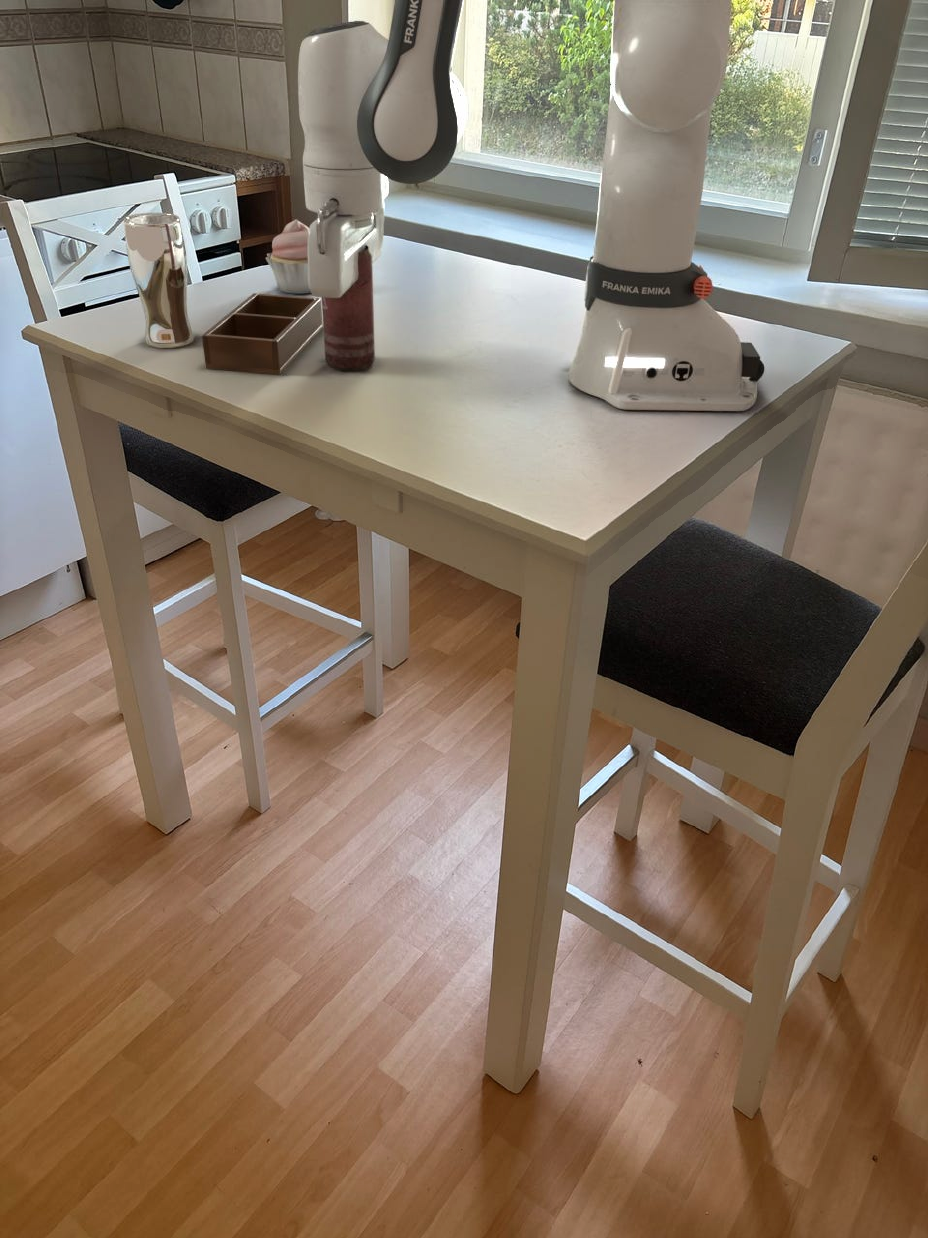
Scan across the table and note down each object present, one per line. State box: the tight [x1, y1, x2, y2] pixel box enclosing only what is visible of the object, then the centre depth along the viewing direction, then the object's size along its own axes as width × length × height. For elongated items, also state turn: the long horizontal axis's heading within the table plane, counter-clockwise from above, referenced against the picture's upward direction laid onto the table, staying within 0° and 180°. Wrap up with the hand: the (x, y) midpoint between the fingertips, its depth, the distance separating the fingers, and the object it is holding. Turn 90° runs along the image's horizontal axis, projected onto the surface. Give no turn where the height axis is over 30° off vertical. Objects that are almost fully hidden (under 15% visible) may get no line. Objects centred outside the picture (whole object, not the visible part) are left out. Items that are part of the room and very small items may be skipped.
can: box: [321, 245, 376, 373], centre depth 114 cm, size 6×6×14 cm
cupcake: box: [265, 219, 312, 295], centre depth 142 cm, size 9×9×10 cm
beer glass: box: [122, 212, 195, 349], centre depth 119 cm, size 7×7×15 cm
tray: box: [201, 292, 324, 376], centre depth 121 cm, size 9×18×4 cm, turn 171°
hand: (350, 314), depth 115 cm, fingers closed
